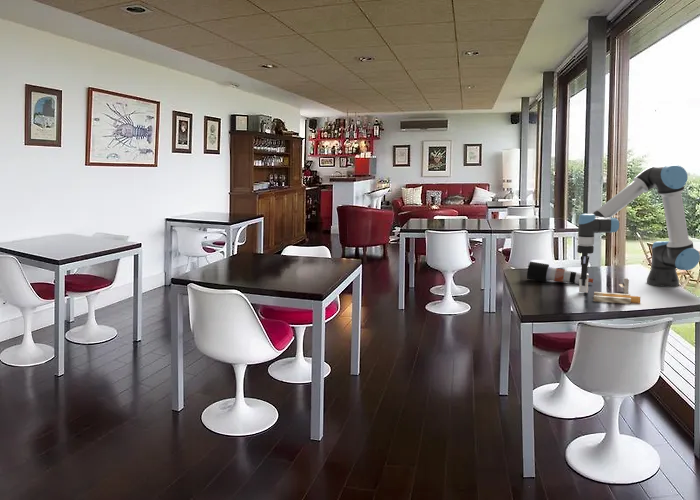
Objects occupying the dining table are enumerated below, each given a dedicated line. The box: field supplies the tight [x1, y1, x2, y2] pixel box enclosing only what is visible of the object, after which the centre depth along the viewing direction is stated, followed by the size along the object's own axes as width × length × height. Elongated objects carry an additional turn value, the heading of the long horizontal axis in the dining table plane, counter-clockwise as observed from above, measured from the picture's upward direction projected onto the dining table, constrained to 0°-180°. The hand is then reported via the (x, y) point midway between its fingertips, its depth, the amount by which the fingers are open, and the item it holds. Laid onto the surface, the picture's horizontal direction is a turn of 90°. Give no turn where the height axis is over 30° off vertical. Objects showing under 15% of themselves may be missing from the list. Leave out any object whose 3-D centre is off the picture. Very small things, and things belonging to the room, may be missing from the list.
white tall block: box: [578, 272, 590, 294], centre depth 290 cm, size 4×4×9 cm
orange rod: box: [603, 294, 641, 304], centre depth 273 cm, size 16×3×3 cm
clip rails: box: [593, 291, 632, 305], centre depth 276 cm, size 16×10×2 cm, turn 66°
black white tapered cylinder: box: [526, 261, 594, 285], centre depth 317 cm, size 10×34×10 cm
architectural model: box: [618, 277, 630, 294], centre depth 292 cm, size 3×7×7 cm, turn 163°
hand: (583, 290), depth 291 cm, fingers closed on white tall block, 4 cm apart
